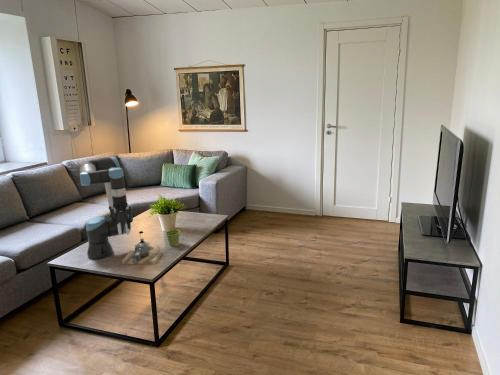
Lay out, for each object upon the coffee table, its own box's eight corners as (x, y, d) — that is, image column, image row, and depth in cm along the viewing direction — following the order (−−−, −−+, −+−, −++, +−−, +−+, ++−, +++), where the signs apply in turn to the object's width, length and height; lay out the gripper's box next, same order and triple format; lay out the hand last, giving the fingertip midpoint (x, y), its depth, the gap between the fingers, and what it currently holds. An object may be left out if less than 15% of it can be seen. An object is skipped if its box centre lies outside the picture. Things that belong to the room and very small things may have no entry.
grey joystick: (148, 227, 248) (133, 229, 246) (149, 232, 239) (132, 234, 236) (150, 244, 252) (135, 246, 249) (151, 250, 242) (135, 252, 240)
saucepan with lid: (138, 252, 234) (136, 241, 232) (150, 252, 234) (149, 241, 232) (128, 264, 219) (127, 252, 217) (142, 264, 218) (140, 252, 216)
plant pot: (182, 246, 247) (180, 233, 245) (167, 248, 244) (166, 235, 242) (180, 240, 256) (179, 228, 253) (166, 242, 253) (165, 230, 251)
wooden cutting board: (122, 263, 225) (122, 260, 224) (131, 253, 238) (130, 250, 238) (156, 263, 223) (155, 260, 223) (162, 253, 237) (162, 250, 236)
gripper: (101, 197, 209) (107, 236, 215) (131, 196, 208) (136, 236, 214) (107, 193, 217) (112, 231, 223) (136, 193, 215) (140, 231, 221)
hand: (124, 233), depth 218 cm, fingers open, 4 cm apart
